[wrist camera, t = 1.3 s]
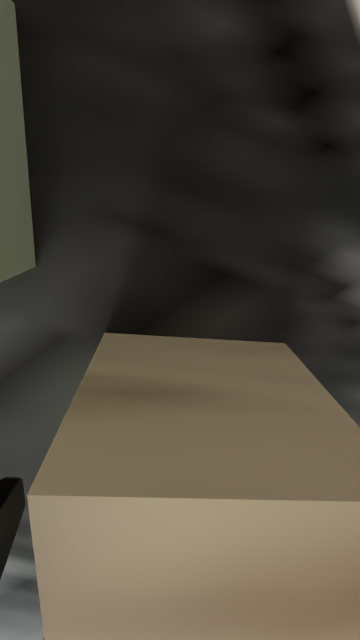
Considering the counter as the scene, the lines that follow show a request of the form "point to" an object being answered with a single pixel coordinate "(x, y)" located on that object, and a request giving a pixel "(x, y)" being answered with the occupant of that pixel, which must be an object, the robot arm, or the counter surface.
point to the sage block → (13, 157)
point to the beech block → (199, 498)
